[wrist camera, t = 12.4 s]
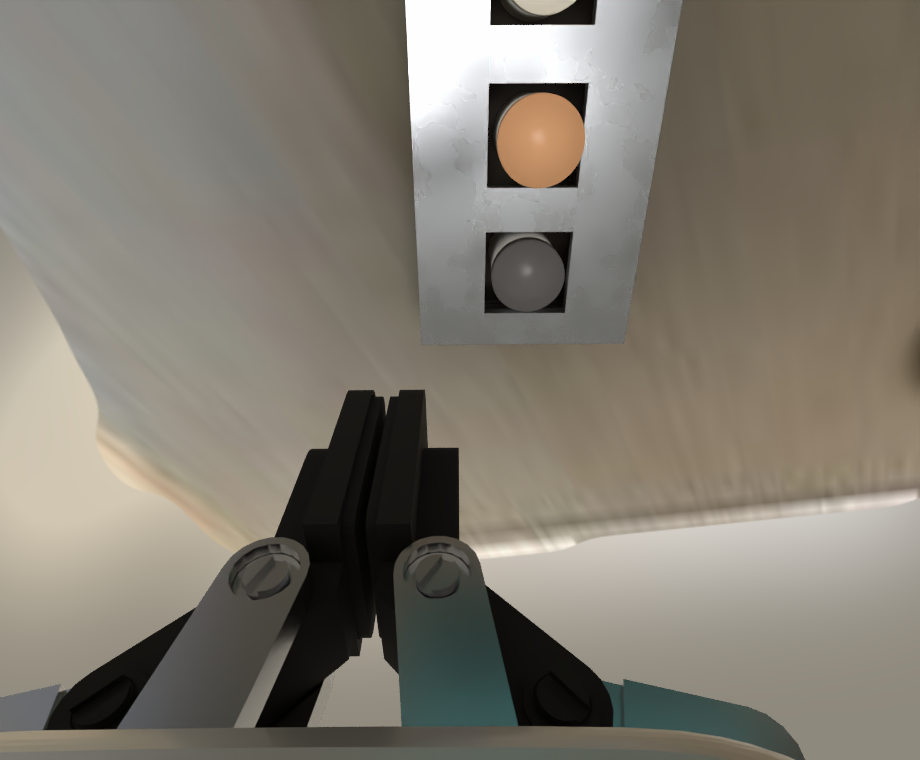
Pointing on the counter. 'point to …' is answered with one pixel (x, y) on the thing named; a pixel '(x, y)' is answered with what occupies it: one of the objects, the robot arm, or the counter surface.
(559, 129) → the plug mid
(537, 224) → the housing
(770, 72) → the counter surface
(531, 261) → the plug
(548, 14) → the plug
